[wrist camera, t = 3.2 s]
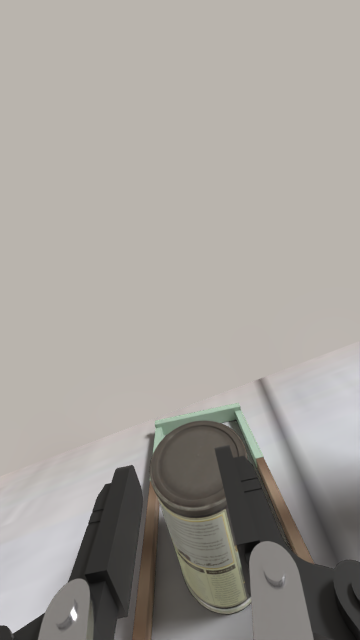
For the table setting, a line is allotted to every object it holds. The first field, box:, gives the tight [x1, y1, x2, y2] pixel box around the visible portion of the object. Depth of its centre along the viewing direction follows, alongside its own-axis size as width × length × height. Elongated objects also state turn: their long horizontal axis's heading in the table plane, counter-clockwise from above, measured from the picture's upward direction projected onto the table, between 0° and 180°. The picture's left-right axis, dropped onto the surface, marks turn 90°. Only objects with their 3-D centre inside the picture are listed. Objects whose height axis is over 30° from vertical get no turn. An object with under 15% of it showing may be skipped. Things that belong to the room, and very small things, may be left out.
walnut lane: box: [132, 458, 314, 640], centre depth 25 cm, size 42×18×2 cm, turn 2°
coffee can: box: [149, 420, 251, 614], centre depth 24 cm, size 10×10×14 cm
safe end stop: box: [150, 403, 264, 481], centre depth 39 cm, size 13×18×3 cm
